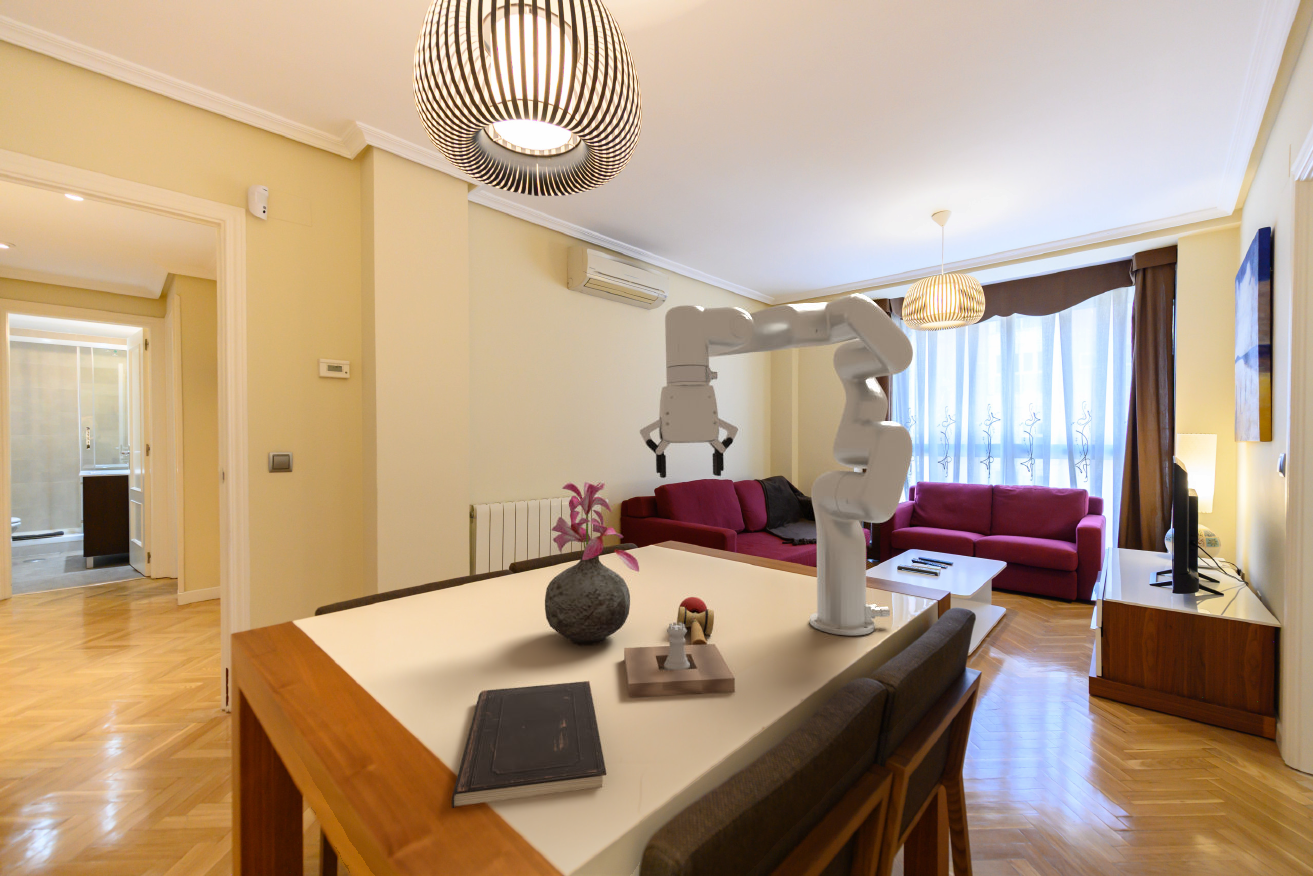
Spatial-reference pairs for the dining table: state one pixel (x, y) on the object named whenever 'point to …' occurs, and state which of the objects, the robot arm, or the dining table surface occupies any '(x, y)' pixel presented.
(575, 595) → the vase
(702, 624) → the kendama
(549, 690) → the hardcover book
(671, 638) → the rook chess piece
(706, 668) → the board
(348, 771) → the dining table surface
